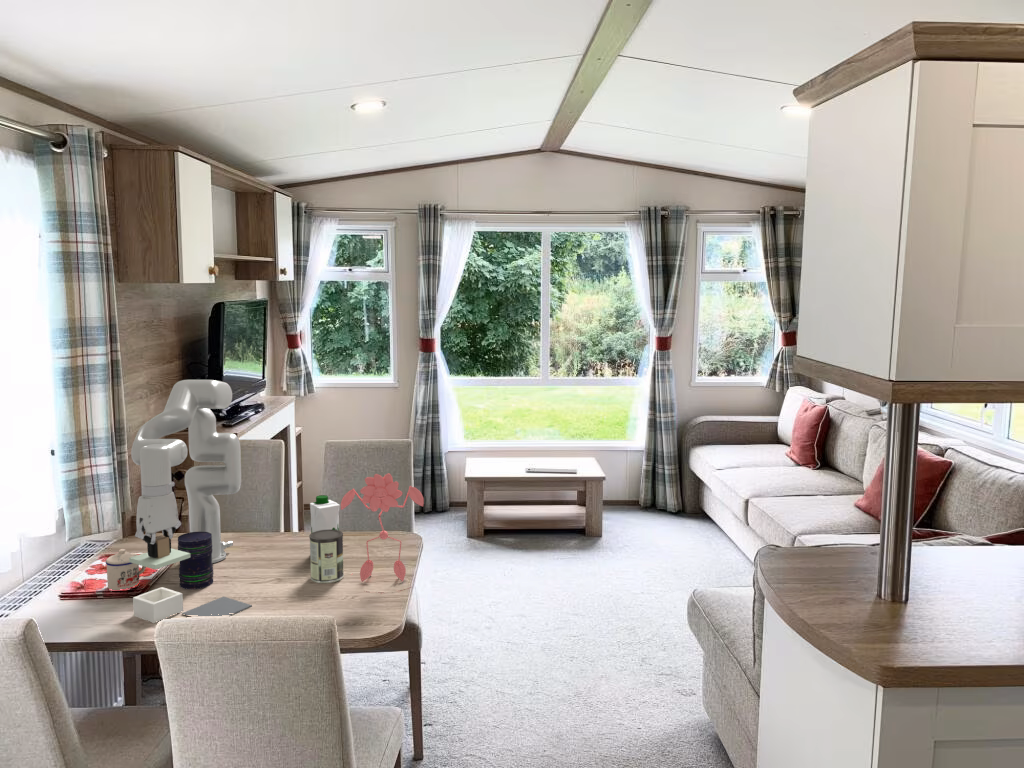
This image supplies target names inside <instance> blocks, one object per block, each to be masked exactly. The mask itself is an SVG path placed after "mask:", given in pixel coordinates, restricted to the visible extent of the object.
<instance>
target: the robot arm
mask: <svg viewBox="0 0 1024 768" xmlns="http://www.w3.org/2000/svg"><path fill="white" fill-rule="evenodd" d="M232 400H233V390H232V387H231V386H230V385H229V384H228V383H227V382H224V381H221V380H216V379H215V380H214V379H183V380H179V381H177V382H176V383H175V384H174V385H173V386H172V389H171V391H170V394H169V396H168V398H167V401H166V404H165V406H164V409H163V411H162V412H161V413H159V414H156V415H155V416H153V417H152V418H150V419H149V420H148V421H146V422H145V423H144V424H143V425H141V427H140V428H139V429H138V431H137V433H136V436H135V438H134V440H133V442H132V446H131V451H130V455H131V460H132V461H133V463H134V464H135V465H137V466H140V481H141V482H140V484H141V485H140V486H141V495H139V496H138V501H137V507H136V520H135V522H136V525H135V526H136V532H135V535H134V537H135V538H137V539H141V540H142V541H144V542H145V544H146V545H147V552H148V556H150V557H153V558H157V557H158V554H157V543H155V538H156V537H157V533H159V532H162V536H165V537H169V549H170V553H171V548H172V539H173V537H174V534H175V532H176V531H177V530H178V529H179V527H181V525H182V522H181V521H180V520H179V513H178V505H177V501H176V495H175V492H174V491H173V487H175V486H176V485H175V482H174V481H172V468H173V467H176V466H179V465H180V464H182V463H184V461H185V460H186V459H187V457H188V451H189V457H190V459H191V460H192V461H194V462H199V463H211V462H212V463H219V462H220V463H221V462H222V463H224V465H213V464H212V465H196V466H195V465H194V466H192V467H190V468H189V469H187V470H186V472H185V474H184V486H185V490H186V495H187V500H188V503H187V504H188V518H189V533H190V532H209V533H211V534H212V538H211V539H212V549H213V550H212V564H216V563H218V562H221V561H223V560H224V559H226V557H227V552H226V551H225V550H226V549H227V548H230V547H232V546H233V545H234V544H233V543H234V542H233V541H232V540H229V541H224V540H223V541H222V540H221V539H222V538H221V535H222V534H221V510H220V509H221V507H220V504H219V501H218V500H217V499H216V497H215V496H214V495H234V494H237V493H238V492H239V491H240V489H241V485H242V454H241V453H242V451H241V442H240V439H239V437H238V436H237V435H236V434H235V433H232V432H231V433H230V432H218V431H217V418H216V415H215V414H214V412H213V411H212V410H216V409H217V410H218V409H219V410H222V409H223V410H224V409H227V408H228V407H229V406H230V404H231V403H232ZM211 409H212V410H211ZM187 428H188V446H187V444H186V443H185V441H184V440H181V439H178V438H164V437H166V436H169V435H172V434H176V433H177V432H181V431H184V430H185V429H187ZM144 532H145V534H144Z"/></svg>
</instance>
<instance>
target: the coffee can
mask: <svg viewBox="0 0 1024 768" xmlns="http://www.w3.org/2000/svg"><path fill="white" fill-rule="evenodd" d="M343 539H344V532H343V531H341V530H340V529H339V530H330V529H329V530H319V531H315V532H313V533H311V532H310V533H309V554H310V555H309V557H310V558H309V560H310V580H311V582H313V583H317V584H331V583H332V584H333V583H336V582H339V581H341V580H342V579H344V577H345V576H344V543H343V541H344V540H343Z"/></svg>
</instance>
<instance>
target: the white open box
mask: <svg viewBox="0 0 1024 768" xmlns="http://www.w3.org/2000/svg"><path fill="white" fill-rule="evenodd" d="M183 595H184V594H183V593H182V592H179V591H175V590H173V589H170V588H166V587H163V586H162V587H158V588H155V589H153V590H149V591H148V592H144V593H141V594H139V595H137V596H134V597H132V605H133V607H132V608H133V609H132V610H133V616H134V617H136V618H138V619H141V618H142V619H141V620H144V621H147V620H148V621H147V622H149V621H150V622H149V623H152V624H156V623H158V621H159V622H161V621H163V620H162V619H164V620H166V619H168V618H170V617H169V616H170V615H173V614H176V613H179V614H181V613H182V612H181V611H183V612H184V599H183ZM180 612H181V613H180ZM176 615H177V614H176ZM166 617H168V618H166ZM165 618H166V619H165ZM160 620H161V621H160ZM156 621H157V622H156ZM155 622H156V623H155Z"/></svg>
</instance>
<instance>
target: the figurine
mask: <svg viewBox="0 0 1024 768" xmlns="http://www.w3.org/2000/svg"><path fill="white" fill-rule="evenodd" d="M364 482H365V484H366V485H365V486H363V487H362V488H361V489H360V490H359V491H360V494H362V495H363V496H362V497H361V496H360V495H359V494H358V492H357V491H356V490H355V488H352V489H350V490H348V492H346V493H345V494H344V495H343V497H342V499H341V502H340V510H341V511H342V510H344V509H345V508H347V507H348V506H349V505H350V504H351V503H352V502H353V501H354V498H355V496H356V497H357V498H358V499H359V501H360V502H362V504H363V505H364V506H365V508H366V509H367V510H370V511H371V512H377V511H378V509H380V510H381V511H380V512H379V514H378V520H379V523H380V527H381V530H382V531H380V532H379V535H378V536H377V537H374V538H371V539H368V540H366V553H367V554H366V555H367V560H365V562H363V564H362V565H361V567H360V571H359V577H360V582H361V583H362V582H364V581H366V580H367V579H368V578H369V577H371V575H373V574H372V573H373V570H374V561H373V560H371V559H370V556H369V543H368V542H371V541H374V540H377V539H379V538H380V539H381V540H387V539H391V540H394V541H397V542H399V552H398V559H396V560H395V561H394V563H393V572H394V574H395V576H396V577H397V578H398V579H399V580H400V581H401V582H404V580H405V576H406V571H407V570H406V566H405V564H404V563H403V562H402V560H401V549H402V540H400V539H397V538H395V537H390V536H389V532H388V531H386V530H385V529H384V526H383V522H382V518H381V516H382V514H383V512H385V513H388V512H389V510H390V508H401V509H402V508H403V509H404V507H405V506H406V503H407V500H408V497H409V498H410V499H411V500H412V502H414V503H415V504H416V505H418V506H421V507H424V504H425V503H424V501H425V500H424V496H423V494H422V491H420V490H419V489H418V488H417V487H415V486H413V485H409V487H408V491H407V494H406V497H405V499H404V502H403V505H399V502H398V500H397V499H399V498H400V497H402V496H403V491H402V490H400V489H399V484H400V483H399V482H398V481H396V480H395V481H394V478H393V476H392V474H391V473H386V474H384V476H382V475H381V474H378V473H375V474H374V475H373V476H367V477H364ZM367 504H368V505H369V506H368V505H367ZM353 574H354V573H352V574H350V576H352V575H353ZM411 588H412V586H410V587H407V588H403V589H400V590H399V591H400V592H403V591H405V590H409V589H411ZM365 591H366V593H369V591H367V590H365ZM379 593H381V594H385V593H384V592H380V591H379V592H378V593H377V594H379Z"/></svg>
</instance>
